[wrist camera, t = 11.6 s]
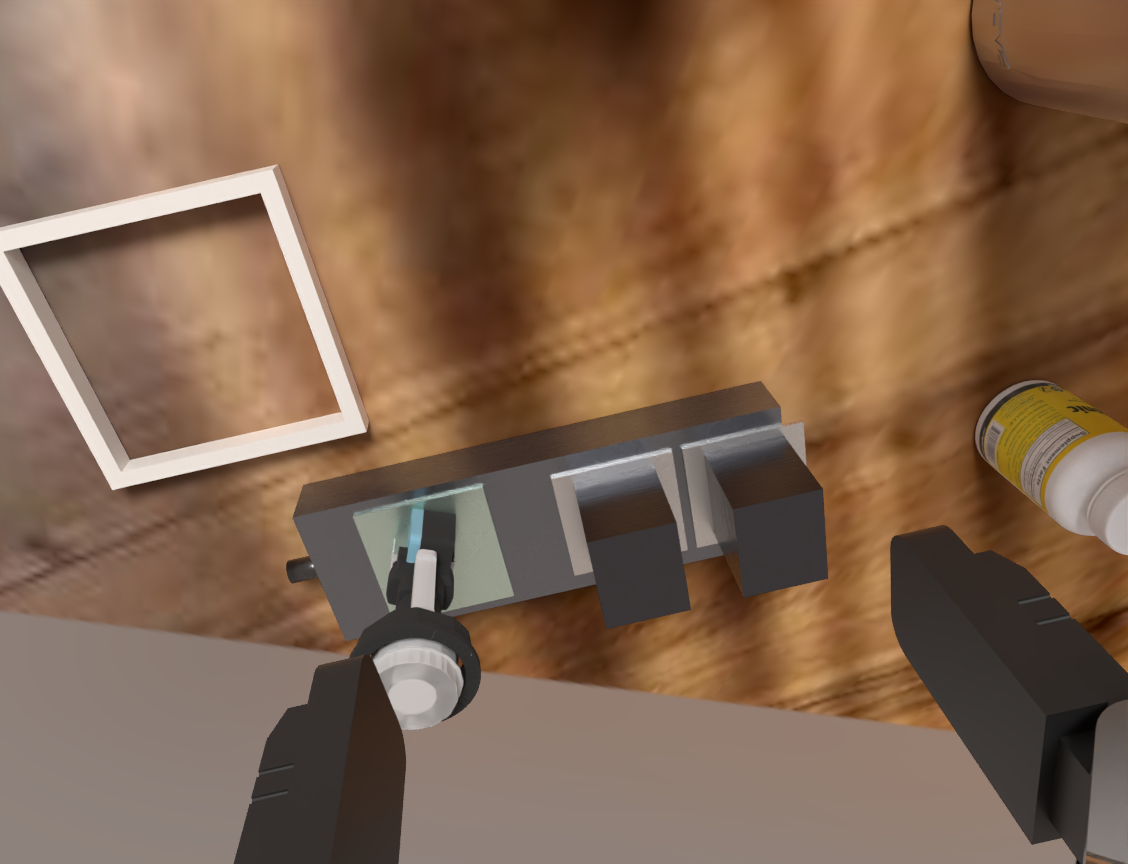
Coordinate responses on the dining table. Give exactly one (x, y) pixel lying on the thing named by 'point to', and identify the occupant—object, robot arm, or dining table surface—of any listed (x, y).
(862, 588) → the dining table surface
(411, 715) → the push button
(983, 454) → the supplement bottle
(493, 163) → the dining table surface
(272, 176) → the empty frame
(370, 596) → the power strip
